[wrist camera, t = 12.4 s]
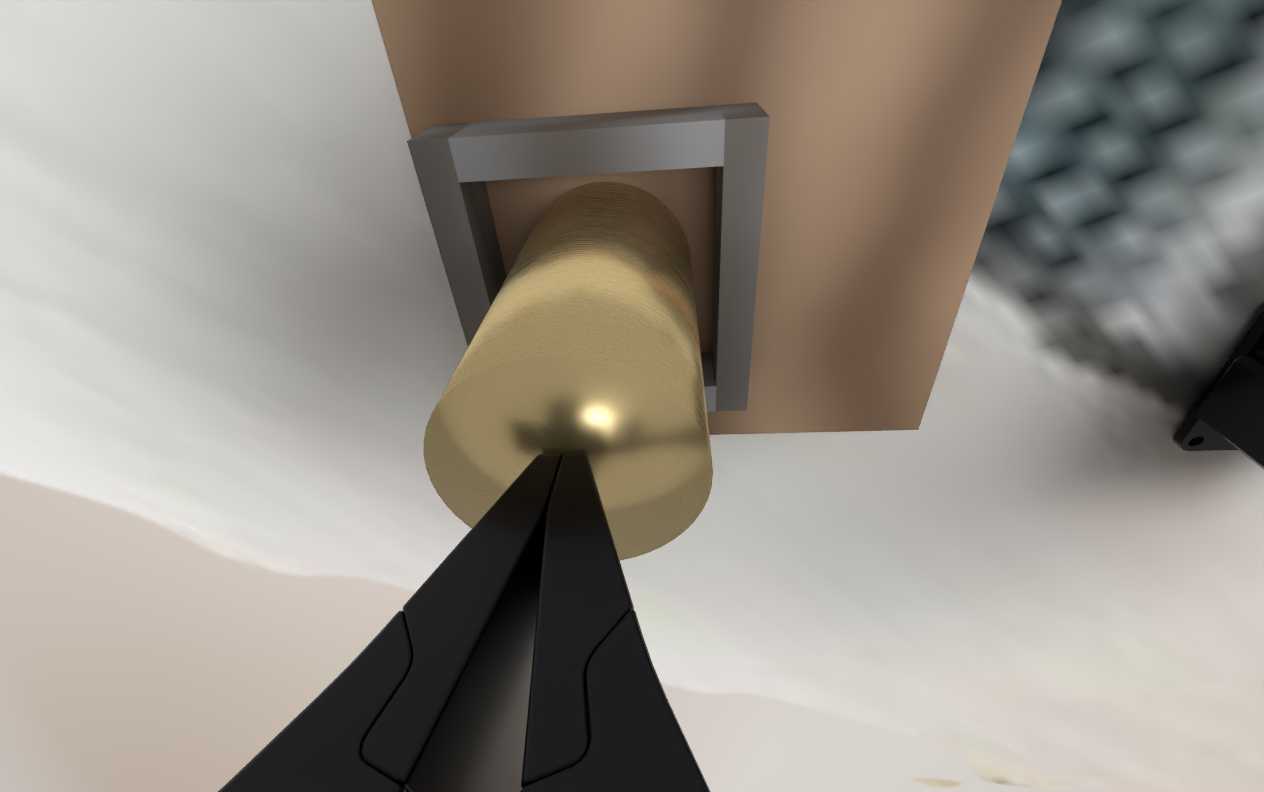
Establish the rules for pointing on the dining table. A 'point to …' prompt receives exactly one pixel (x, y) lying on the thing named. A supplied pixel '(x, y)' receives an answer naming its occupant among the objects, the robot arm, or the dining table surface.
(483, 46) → the jig
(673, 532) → the solid brass cylinder
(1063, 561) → the dining table surface
